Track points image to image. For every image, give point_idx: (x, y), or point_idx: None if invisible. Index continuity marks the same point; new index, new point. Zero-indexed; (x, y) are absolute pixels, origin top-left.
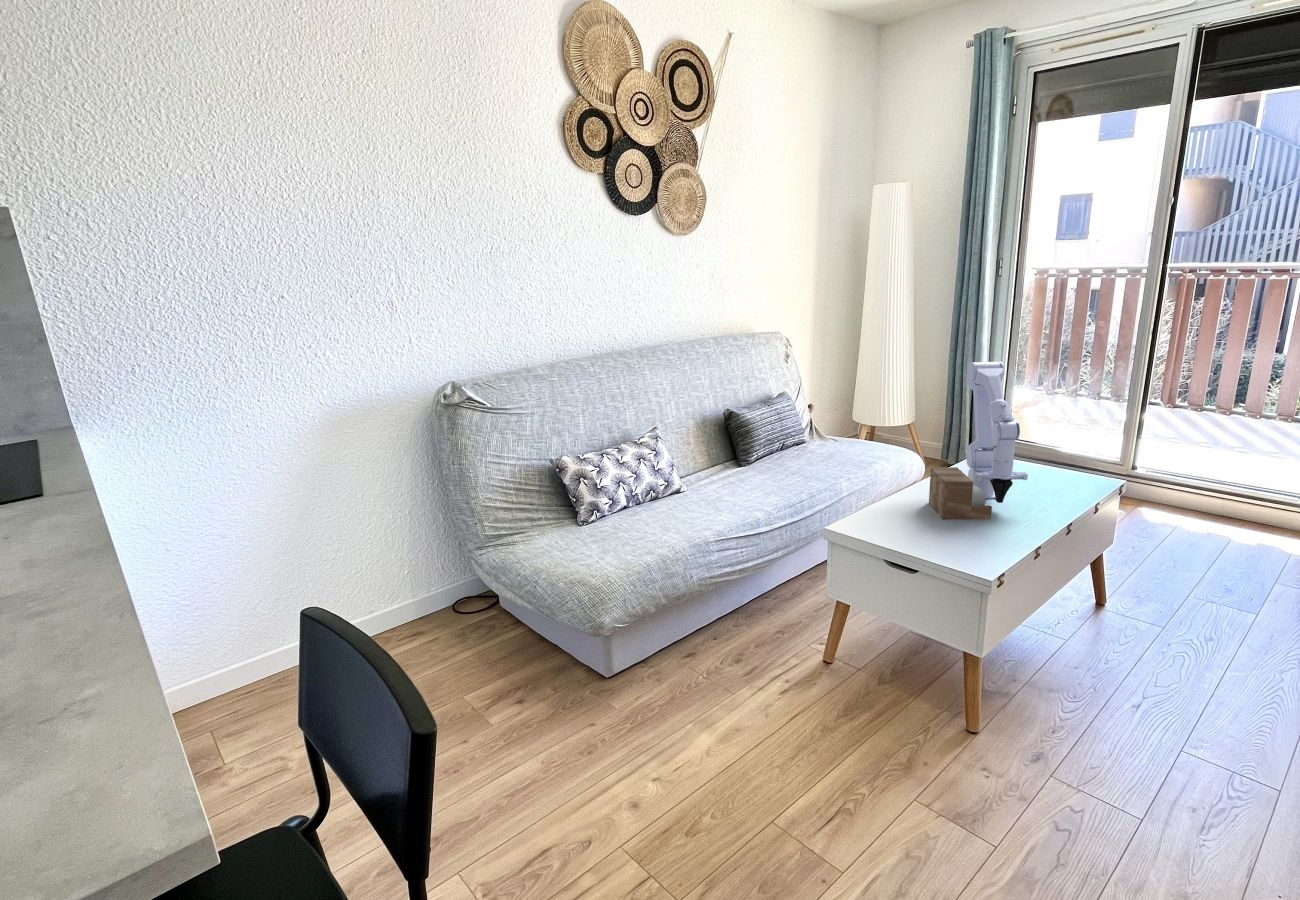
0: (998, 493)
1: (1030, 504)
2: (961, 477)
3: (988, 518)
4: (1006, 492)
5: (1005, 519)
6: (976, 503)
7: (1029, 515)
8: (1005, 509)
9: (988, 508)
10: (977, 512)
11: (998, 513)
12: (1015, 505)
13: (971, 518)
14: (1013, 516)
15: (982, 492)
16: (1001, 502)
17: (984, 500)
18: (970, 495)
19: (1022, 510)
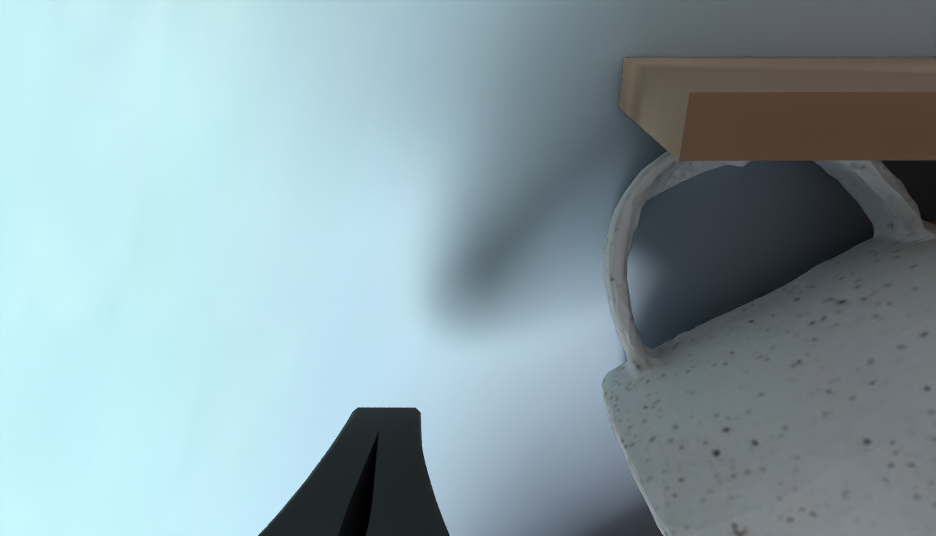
0: (426, 512)
1: (17, 517)
2: None
3: (663, 59)
4: (269, 527)
5: (418, 52)
6: (823, 321)
7: (61, 205)
8: (309, 397)
9: (742, 87)
10: (896, 71)
11: (432, 279)
12: (174, 496)
13: (913, 58)
14: (275, 172)
15: None
16: (369, 411)
17: (648, 412)
18: None
19: (124, 366)
